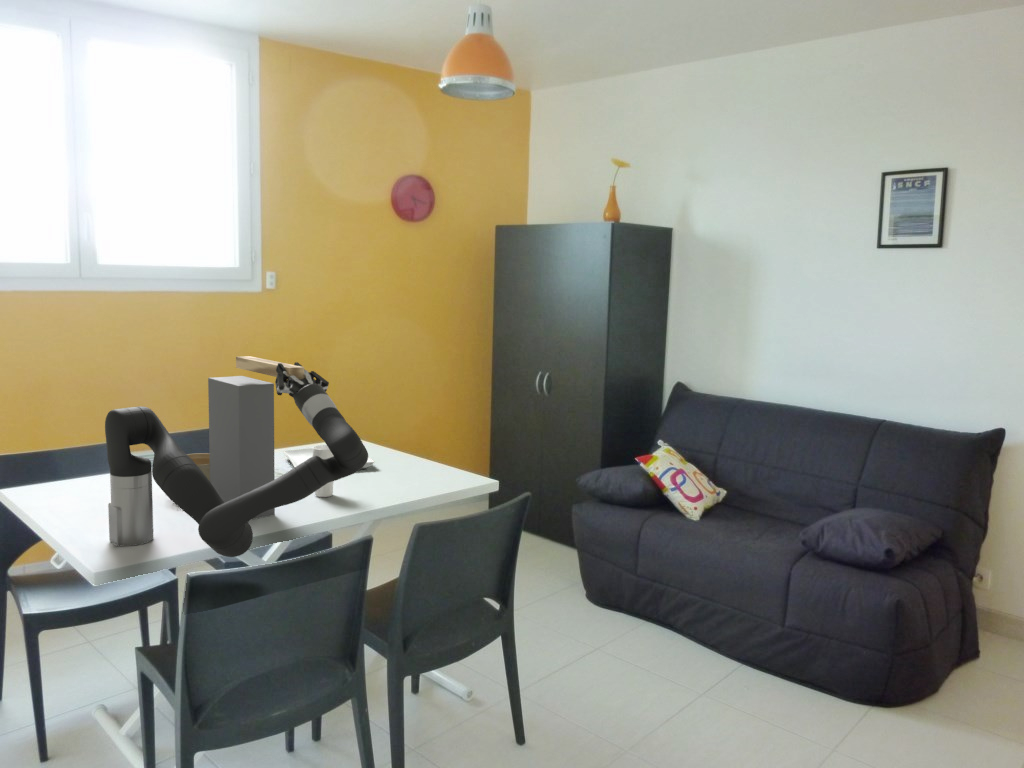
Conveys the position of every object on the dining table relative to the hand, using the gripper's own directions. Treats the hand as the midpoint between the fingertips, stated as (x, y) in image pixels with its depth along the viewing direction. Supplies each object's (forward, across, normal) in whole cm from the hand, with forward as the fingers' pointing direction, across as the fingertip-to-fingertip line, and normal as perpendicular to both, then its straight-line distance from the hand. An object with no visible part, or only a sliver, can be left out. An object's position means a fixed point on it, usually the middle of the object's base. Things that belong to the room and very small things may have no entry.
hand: (287, 365), depth 199 cm
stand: (+1, 0, -51) cm, 51 cm away
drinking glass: (+1, +26, -51) cm, 58 cm away
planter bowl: (+22, -3, -63) cm, 67 cm away
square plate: (+31, +48, -69) cm, 90 cm away
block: (+7, 0, -8) cm, 10 cm away
